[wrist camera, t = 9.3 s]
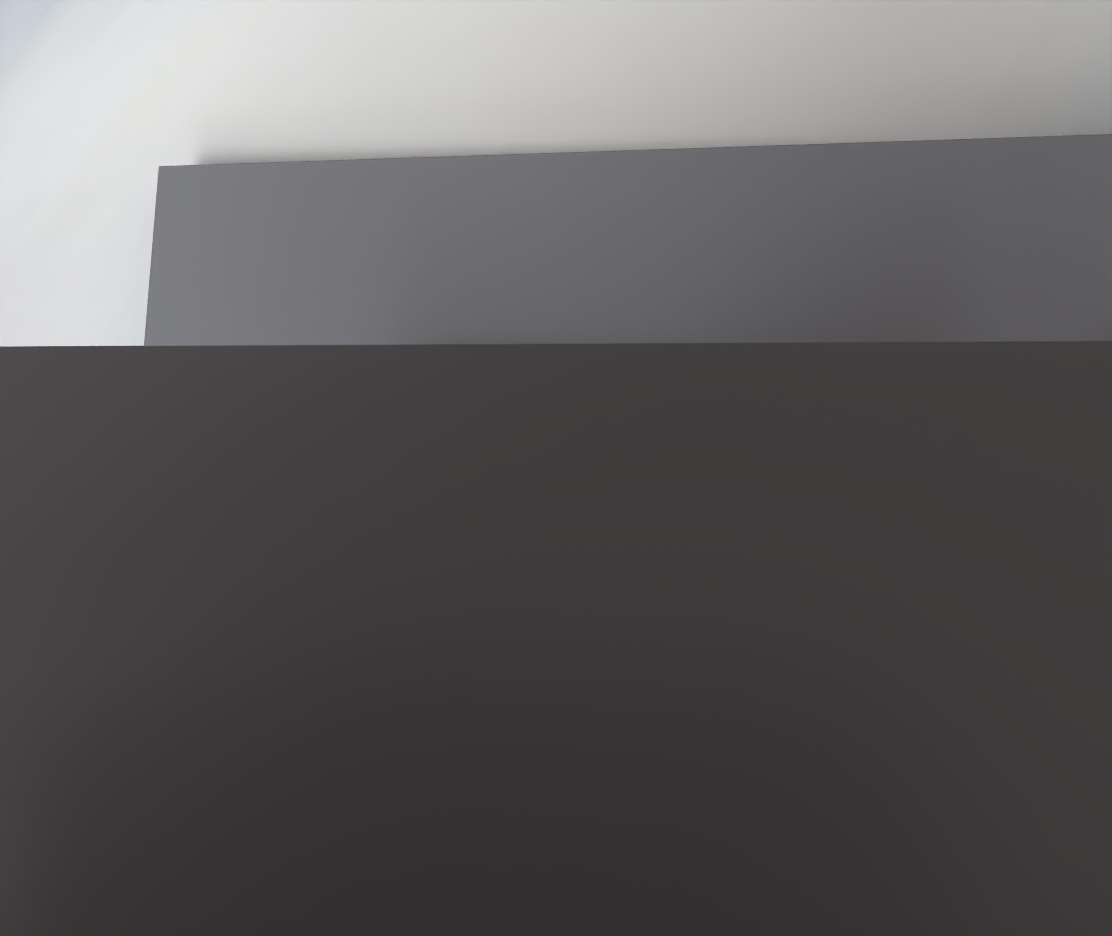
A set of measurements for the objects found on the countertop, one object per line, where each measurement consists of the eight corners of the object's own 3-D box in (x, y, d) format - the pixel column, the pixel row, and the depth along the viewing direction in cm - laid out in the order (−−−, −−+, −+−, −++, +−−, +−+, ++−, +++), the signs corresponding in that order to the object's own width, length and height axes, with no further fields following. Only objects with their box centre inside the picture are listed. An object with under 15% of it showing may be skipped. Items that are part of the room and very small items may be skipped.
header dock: (108, 1183, 16) (-44, 1339, 13) (186, 189, 19) (75, 97, 15) (1236, 1310, 14) (1417, 1541, 11) (1168, 158, 16) (1298, 44, 13)
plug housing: (502, 806, 15) (-503, 2012, 2) (510, 551, 16) (-265, 346, 3) (759, 820, 15) (1380, 2492, 2) (759, 557, 15) (1235, 340, 2)
